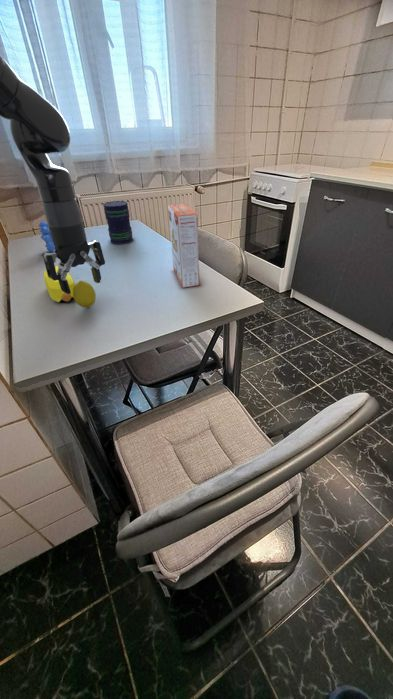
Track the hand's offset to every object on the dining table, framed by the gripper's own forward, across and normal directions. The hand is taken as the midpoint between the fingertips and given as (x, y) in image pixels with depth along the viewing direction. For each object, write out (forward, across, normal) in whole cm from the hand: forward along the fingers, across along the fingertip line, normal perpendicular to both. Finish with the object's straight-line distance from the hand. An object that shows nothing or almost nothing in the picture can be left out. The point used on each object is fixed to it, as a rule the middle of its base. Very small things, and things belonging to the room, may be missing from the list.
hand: (83, 287), depth 77 cm
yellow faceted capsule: (+6, 0, -15) cm, 16 cm away
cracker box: (+6, -31, +6) cm, 33 cm away
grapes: (+6, -16, -54) cm, 57 cm away
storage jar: (+6, -42, -44) cm, 61 cm away
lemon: (+6, 0, 0) cm, 7 cm away
